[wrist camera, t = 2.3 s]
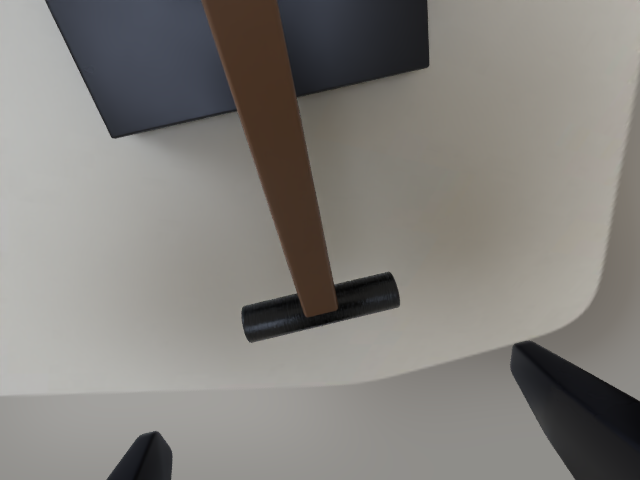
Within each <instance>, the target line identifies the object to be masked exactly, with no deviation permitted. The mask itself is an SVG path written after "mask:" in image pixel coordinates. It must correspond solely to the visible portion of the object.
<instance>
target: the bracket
mask: <svg viewBox="0 0 640 480" xmlns="http://www.w3.org/2000/svg"><path fill="white" fill-rule="evenodd" d="M45 1H46V3H47V5H48V7H49V10H50V12H51V14H52V16H53V18H54V20H55V22H56V24H57V26H58V28H59V30H60V32H61V34H62V36H63V38H64V40H65V43H66V45H67V47H68V49H69V51H70V53H71V55H72V57H73V59H74V61H75V63H76V65H77V67H78V69H79V71H80V73H81V76H82V78H83V80H84V82H85V84H86V86H87V88H88V90H89V92H90V94H91V96H92V98H93V100H94V102H95V104H96V107H97V109H98V111H99V113H100V115H101V117H102V119H103V121H104V123H105V125H106V127H107V129H108V131H109V133H110V135H111V137H112V138H115V139H116V138H120V137H124V136H129V135H133V134H138V133H142V132H147V131H151V130H155V129H160V128H164V127H169V126H173V125H177V124H182V123H186V122H191V121H195V120H199V119H204V118H208V117H213V116H217V115H221V114H226V113H230V112H235V111H237V109H236V106H235V103H234V100H233V97H232V93H231V90H230V87H229V84H228V81H227V78H226V75H225V72H224V69H223V66H222V63H221V60H220V57H219V54H218V51H217V48H216V45H215V42H214V39H213V36H212V33H211V30H210V27H209V24H208V21H207V18H206V14H205V11H204V8H203V5H202V2H201V0H45ZM277 2H278V7H279V12H280V17H281V22H282V27H283V32H284V37H285V42H286V47H287V52H288V57H289V62H290V67H291V72H292V77H293V82H294V87H295V92H296V97H301V96H305V95H309V94H314V93H318V92H323V91H327V90H331V89H336V88H340V87H345V86H349V85H353V84H358V83H362V82H367V81H371V80H375V79H380V78H384V77H389V76H393V75H397V74H402V73H406V72H411V71H415V70H419V69H424V68H427V67H429V39H428V9H427V0H277Z"/></svg>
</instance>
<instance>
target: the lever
mask: <svg viewBox="0 0 640 480" xmlns="http://www.w3.org/2000/svg"><path fill="white" fill-rule="evenodd" d="M201 2H202V5H203V8H204V11H205V14H206V18H207V21H208V24H209V27H210V30H211V33H212V36H213V39H214V42H215V45H216V48H217V51H218V54H219V57H220V60H221V63H222V66H223V69H224V72H225V75H226V78H227V81H228V84H229V87H230V90H231V93H232V97H233V100H234V103H235V106H236V109H237V112H238V115H239V118H240V121H241V124H242V127H243V130H244V133H245V136H246V139H247V142H248V145H249V148H250V151H251V154H252V157H253V160H254V163H255V166H256V169H257V173H258V176H259V179H260V182H261V185H262V188H263V191H264V194H265V197H266V200H267V203H268V206H269V209H270V212H271V215H272V218H273V221H274V224H275V227H276V230H277V233H278V236H279V239H280V242H281V245H282V248H283V252H284V255H285V258H286V261H287V264H288V267H289V270H290V273H291V276H292V279H293V282H294V285H295V288H296V291H297V294H293V295H289V296H284V297H280V298H276V299H272V300H268V301H263V302H259V303H255V304H251V305H247V306H244V307H243V308H242V324H243V329H244V333H245V336H246V338H247V340H248V341H249V342H251V343H252V342H256V341H261V340H265V339H269V338H273V337H277V336H281V335H286V334H290V333H294V332H298V331H302V330H306V329H311V328H315V327H319V326H323V325H327V324H331V323H335V322H340V321H344V320H348V319H352V318H356V317H360V316H365V315H369V314H373V313H377V312H381V311H385V310H390V309H394V308H398V307H399V306H400V297H399V292H398V288H397V285H396V282H395V279H394V277H393V275H392V274H391V272H385V273H381V274H377V275H373V276H368V277H364V278H360V279H356V280H352V281H347V282H343V283H339V284H335V285H334V282H333V277H332V272H331V267H330V262H329V257H328V252H327V247H326V242H325V237H324V232H323V227H322V222H321V217H320V212H319V207H318V202H317V197H316V192H315V187H314V182H313V177H312V172H311V167H310V162H309V157H308V152H307V147H306V142H305V137H304V132H303V127H302V122H301V117H300V112H299V107H298V102H297V97H296V92H295V87H294V82H293V77H292V72H291V67H290V62H289V57H288V52H287V47H286V42H285V37H284V32H283V27H282V22H281V17H280V12H279V7H278V2H277V0H201Z"/></svg>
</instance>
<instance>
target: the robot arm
mask: <svg viewBox="0 0 640 480" xmlns="http://www.w3.org/2000/svg"><path fill="white" fill-rule="evenodd" d="M510 367H511V372H512V374H513V376H514V378H515V380H516V382H517V384H518V385H519V387H520V389H521V391H522V393H523V395H524V396H525V398H526V400H527V402H528V404H529V406H530V408H531V409H532V411H533V413H534V415H535V417H536V419H537V421H538V422H539V424H540V426H541V428H542V430H543V431H544V433H545V435H546V436H547V438H548V440H549V441H550V443H551V444H552V446H553V447H554V449H555V450H556V451H557V453H558V455H559V456H560V457H561V459H562V460H563V462H564V464H565V465H566V467H567V468H568V469H569V471H570V472H571V474H572V475H573V477H574V478H575V480H640V401H638V400H637V399H635V398H633V397H631V396H630V395H628V394H626V393H624V392H622V391H621V390H619V389H617V388H615V387H613V386H612V385H610V384H608V383H606V382H604V381H603V380H601V379H599V378H597V377H595V376H594V375H592V374H590V373H588V372H587V371H585V370H583V369H581V368H579V367H578V366H576V365H574V364H572V363H570V362H569V361H567V360H565V359H563V358H561V357H560V356H558V355H556V354H554V353H552V352H551V351H549V350H547V349H545V348H544V347H542V346H540V345H538V344H536V343H534V342H532V341H524V342H519V343H516V344H514V345H513V347H512V355H511V364H510ZM171 473H172V451H171V449H170V447H169V445H168V444H167V443H166V441H165V440H164V439H163V437H162V436H161V434H160V433H159V432H157V431H153V432H149V433H145V434H142V435H140V436H139V437H138V438H137V439H136V440H135V442H134V443H133V444H132V446H131V447H130V449H129V450H128V451H127V453H126V454H125V455H124V457H123V458H122V459H121V461H120V462H119V464H118V465H117V466H116V468H115V469H114V470H113V472H112V473H111V474H110V476H109V477H108V478H107V480H171Z"/></svg>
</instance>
